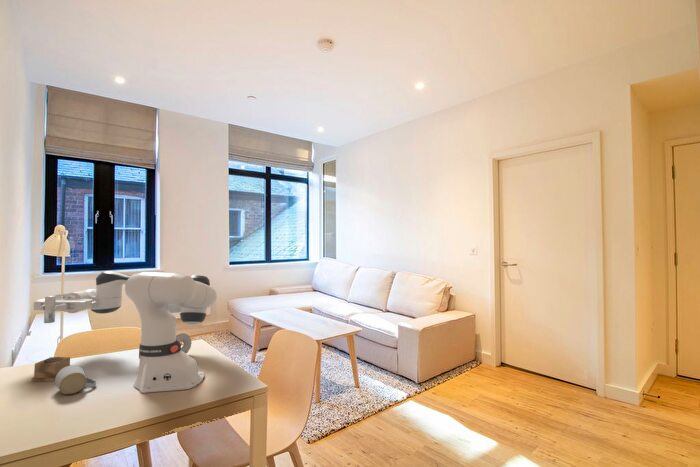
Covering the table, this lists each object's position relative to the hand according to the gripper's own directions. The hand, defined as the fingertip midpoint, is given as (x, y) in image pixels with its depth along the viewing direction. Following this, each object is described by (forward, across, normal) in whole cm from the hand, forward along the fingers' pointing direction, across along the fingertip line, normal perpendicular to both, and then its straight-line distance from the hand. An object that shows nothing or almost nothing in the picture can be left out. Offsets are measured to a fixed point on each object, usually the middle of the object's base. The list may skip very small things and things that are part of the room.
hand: (47, 308), depth 133 cm
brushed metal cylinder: (-1, 0, -6) cm, 6 cm away
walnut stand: (+7, -8, -24) cm, 26 cm away
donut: (-17, -44, -24) cm, 53 cm away
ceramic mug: (+18, -25, -24) cm, 39 cm away
